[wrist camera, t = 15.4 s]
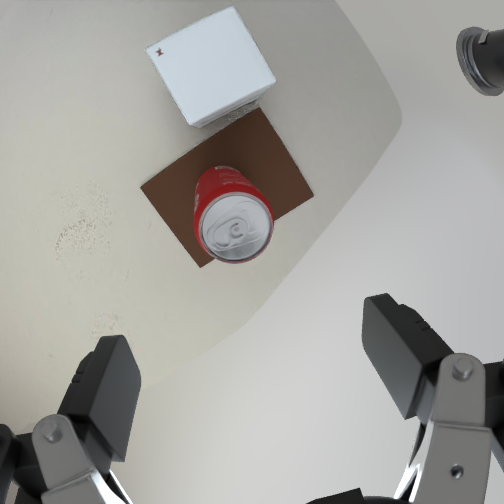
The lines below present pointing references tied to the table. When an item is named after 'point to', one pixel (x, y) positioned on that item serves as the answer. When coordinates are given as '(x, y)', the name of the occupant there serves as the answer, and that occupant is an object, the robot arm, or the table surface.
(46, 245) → the table surface
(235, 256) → the beverage can
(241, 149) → the mat
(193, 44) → the white packaging box
